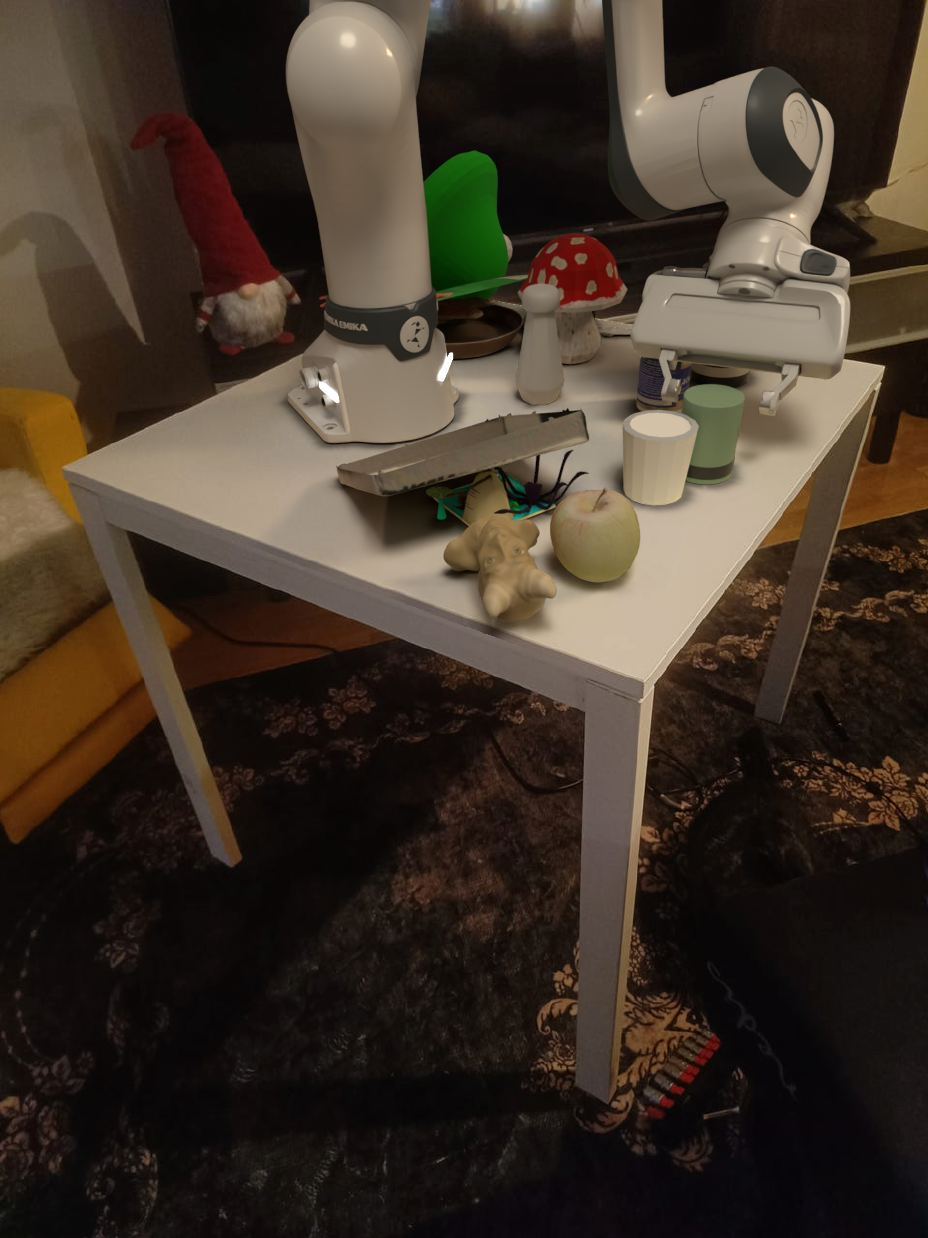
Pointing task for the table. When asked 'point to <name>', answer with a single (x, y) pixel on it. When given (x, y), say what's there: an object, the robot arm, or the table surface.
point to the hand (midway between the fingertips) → (716, 406)
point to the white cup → (657, 455)
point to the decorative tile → (465, 451)
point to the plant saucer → (481, 332)
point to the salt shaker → (540, 347)
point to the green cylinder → (713, 431)
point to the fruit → (595, 534)
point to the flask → (718, 370)
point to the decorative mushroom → (577, 290)
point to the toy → (465, 224)
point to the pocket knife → (613, 331)
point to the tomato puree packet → (478, 286)
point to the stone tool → (461, 308)
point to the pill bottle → (659, 385)
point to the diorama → (498, 496)
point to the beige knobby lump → (503, 566)
